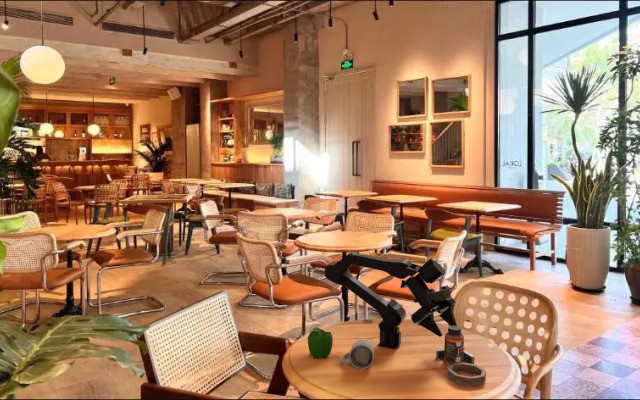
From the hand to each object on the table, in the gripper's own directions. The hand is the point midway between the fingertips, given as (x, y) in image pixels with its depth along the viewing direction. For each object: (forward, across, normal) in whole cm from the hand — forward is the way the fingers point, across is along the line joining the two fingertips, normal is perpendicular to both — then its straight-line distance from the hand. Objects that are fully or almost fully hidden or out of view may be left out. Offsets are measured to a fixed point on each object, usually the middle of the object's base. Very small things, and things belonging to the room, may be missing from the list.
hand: (449, 332), depth 165 cm
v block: (+7, +4, +6) cm, 10 cm away
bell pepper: (-15, -27, +29) cm, 43 cm away
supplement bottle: (+8, 0, +5) cm, 10 cm away
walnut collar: (+14, -8, -1) cm, 16 cm away
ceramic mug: (-6, -23, +20) cm, 31 cm away
